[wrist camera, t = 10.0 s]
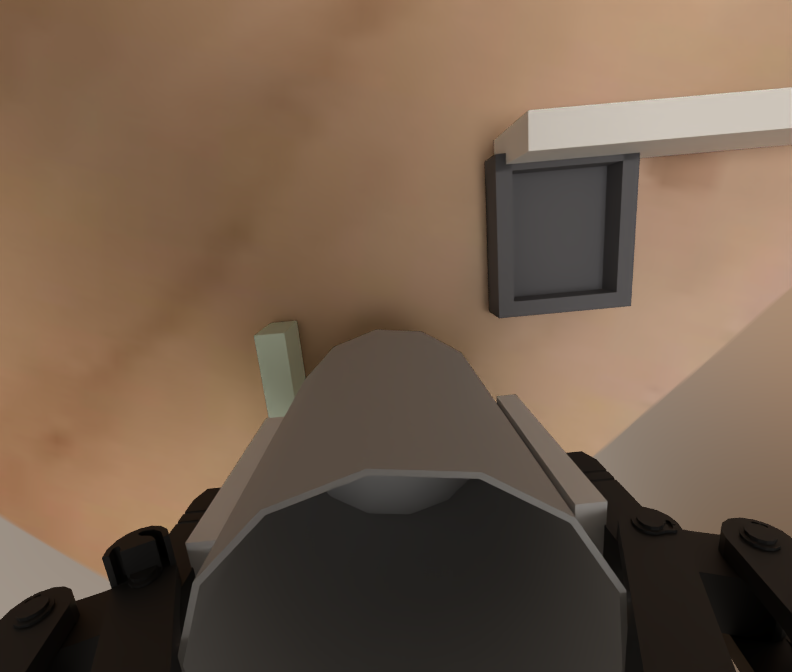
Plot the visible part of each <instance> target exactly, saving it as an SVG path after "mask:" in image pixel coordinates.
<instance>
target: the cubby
mask: <svg viewBox="0 0 792 672" xmlns="http://www.w3.org/2000/svg"><path fill="white" fill-rule="evenodd" d="M784 145H792V87H790V88H779V89H767V90H756V91H744V92H733V93H721V94H710V95H698V96H687V97H675V98H664V99H652V100H641V101H629V102H618V103H606V104H595V105H583V106H572V107H560V108H549V109H537V110H528V111H527V112H526V113H525V114H523V115H522V116H521V117H520V118H519V119H518V120H517V121H515V122H514V123H513V124H512V125H511V126H510V127H508V128H507V129H506V130H505V131H504V132H503V133H502V134H500V135H499V136H498V137H497V138H496V139H495V140H494V155H495V154H502V153H506V164H516V163H527V162H539V161H550V160H561V159H573V158H584V157H595V156H606V155H618V154H629V153H640V158H648V157H660V156H671V155H682V154H693V153H705V152H716V151H727V150H739V149H750V148H761V147H772V146H784Z"/></svg>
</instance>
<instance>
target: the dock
mask: <svg viewBox="0 0 792 672" xmlns="http://www.w3.org/2000/svg"><path fill="white" fill-rule="evenodd" d="M254 340H255V345H256V350H257V356H258V361H259V367H260V372H261V378H262V383H263V389H264V394H265V400H266V405H267V411H268V416H269V418H273V417H284V416H285V414H286V413H287V411H288V409H289V407H290V405H291V404H292V402H293V400H294V398H295V396H296V395H297V393H298V391H299V389H300V387H301V385H302V384H303V382H304V380H305V379H306V377H305V371H304V364H303V358H302V351H301V344H300V338H299V331H298V325H297V321H286V322H275V323H270V324H268V325H267V326H266V327H265V328H263V329H262V330H261V331H259V332H258V333H257V334H255V335H254Z"/></svg>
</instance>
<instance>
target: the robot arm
mask: <svg viewBox="0 0 792 672" xmlns="http://www.w3.org/2000/svg"><path fill="white" fill-rule="evenodd" d="M497 405H498V406H499V408H500V409H501V410H502V412H503V413H504V415H505V416H506V418H507V419H508V421H509V422H510V423H511V425H512V426H513V428H514V429H515V431H516V432H517V434H518V435H519V436H520V438H521V439H522V441H523V442H524V444H525V445H526V447H527V448H528V449H529V451H530V452H531V454H532V455H533V457H534V458H535V459H536V461H537V462H538V464H539V465H540V467H541V468H542V470H543V471H544V472H545V474H546V475H547V477H548V478H549V480H550V481H551V483H552V484H553V485H554V487H555V488H556V490H557V491H558V493H559V494H560V496H561V497H562V498H563V500H564V501H565V503H566V504H567V506H568V507H569V508H570V510H571V511H572V513H573V514H574V516H575V517H576V519H577V520H578V521H579V523H580V524H581V526H582V527H583V529H584V530H585V532H586V533H587V534H588V536H589V537H590V539H591V540H592V542H593V543H594V545H595V546H596V547H597V549H598V550H599V552H600V553H601V555H602V556H603V557H604V559H605V560H606V562H607V563H608V565H609V566H610V568H611V569H612V570H613V572H614V573H615V575H616V576H617V578H618V579H619V581H620V582H621V583H622V585H623V586H624V588H625V589H626V596H627V626H628V630H627V645H626V660H625V672H736V670H735V668H734V665H733V662H734V664H735V665H736V667H737V668H738V670H739V671H740V672H792V538H791V537H790V536H788V535H787V534H786V533H784V532H783V531H781V530H779V529H777V528H775V527H773V526H771V525H769V524H766V523H763V522H759V521H757V520H753V519H746V518H731V519H727V520H726V521H724V522H723V523H722V527H721V534H720V535H717V534H709V533H702V532H694V531H688V530H682V528H681V527H680V526H679V524H678V523H677V522H676V521H675V520H673V519H672V518H671V517H669V516H668V515H666V514H664V513H662V512H659V511H657V510H654V509H650V508H646V507H642V506H641V505H640V504H639V503H638V502H637V501H636V500H635V499H634V498H633V497H632V496H631V495H630V494H629V493H628V492H627V491H626V490H625V489H624V487H622V485H620V483H619V482H618V481H617V480H615V479H614V477H613V476H612V475H611V474H610V473H609V472H607V471H606V469H605V468H604V467H603V466H602V465H601V464H600V463H599V462H598V461H597V460H596V459H595V458H593V457H591V456H589V455H587V454H585V453H584V452H582V451H581V452H571V453H566V452H565V451H564V450H563V449H562V448H561V447H560V445H559V444H558V443H557V442H556V441H555V440H554V438H553V437H552V436H551V435H550V434H549V433H548V431H547V430H546V429H545V428H544V427H543V426H542V424H541V423H540V422H539V421H538V420H537V419H536V417H535V416H534V415H533V414H532V413H531V412H530V410H529V409H528V408H527V407H526V406H525V405H524V403H523V402H522V401H521V400H520V399H519V398H518V396H517V395H516V394H514V395H504V396H497ZM283 418H284V417H273V418H266V419H265V421H264V422H263V424H262V425H261V427H260V428H259V430H258V432H257V433H256V435H255V436H254V438H253V439H252V441H251V442H250V444H249V445H248V447H247V448H246V450H245V452H244V453H243V455H242V456H241V458H240V459H239V461H238V462H237V464H236V465H235V467H234V469H233V470H232V472H231V473H230V475H229V476H228V478H227V479H226V481H225V482H224V484H223V485H222V487H221V488H212V489H207V490H206V491H205V492H203V493H202V494H201V495H199V496H198V497H197V498H196V499H194V500H193V502H192V503H191V505H190V506H189V507H188V509H187V510H186V511H185V514H183V516H182V517H181V518H180V520H179V521H178V524H176V525H175V527H174V528H173V529H172V531H171V532H170V534H169V533H168V530H167V529H166V528H164V527H162V526H149V527H145V528H141V529H138V530H136V531H133V532H131V533H129V534H127V535H125V536H124V537H122V538H120V539H119V540H117V541H116V542H115V543H114V544H113V545H111V546H110V547H109V548H108V549H107V550H106V552H105V554H104V556H103V557H102V560H103V563H104V566H105V569H106V572H107V575H108V578H109V581H110V585H111V588H112V589H110V590H107V591H105V592H102V593H99V594H96V595H93V596H90V597H87V598H84V599H81V600H78V601H75V598H74V596H73V593H72V590H71V589H70V588H67V587H54V588H50V589H47V590H45V591H42V592H39V593H37V594H34V595H33V596H30V597H29V598H27V599H25V600H24V601H22V602H21V603H20V604H18V605H17V606H15V607H14V608H13V609H11V610H10V611H9V612H8V613H7V614H6V615H5V616H4V617H3V618H2V619H1V620H0V672H182V670H181V667H180V663H179V660H178V652H179V647H180V642H181V637H182V632H183V627H184V622H185V617H186V613H187V608H188V603H189V598H190V593H191V588H192V583H193V581H194V579H195V578H196V576H197V574H198V572H199V570H200V568H201V567H202V565H203V563H204V561H205V559H206V558H207V556H208V554H209V552H210V550H211V549H212V547H213V545H214V543H215V541H216V539H217V538H218V536H219V534H220V532H221V530H222V529H223V527H224V525H225V523H226V521H227V520H228V518H229V516H230V514H231V512H232V510H233V509H234V507H235V505H236V503H237V501H238V500H239V498H240V496H241V494H242V492H243V491H244V489H245V487H246V485H247V483H248V481H249V480H250V478H251V476H252V474H253V472H254V471H255V469H256V467H257V465H258V463H259V462H260V460H261V458H262V456H263V454H264V453H265V451H266V449H267V447H268V445H269V443H270V442H271V440H272V438H273V436H274V434H275V433H276V431H277V429H278V427H279V425H280V424H281V422H282V420H283ZM731 659H732V660H733V662H732V660H731Z"/></svg>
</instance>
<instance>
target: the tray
mask: <svg viewBox="0 0 792 672" xmlns="http://www.w3.org/2000/svg"><path fill="white" fill-rule="evenodd" d="M639 162H640V153H629V154H618V155H606V156H595V157H584V158H573V159H561V160H550V161H539V162H527V163H516V164H506V153H502V154H495V155H493V156H492V157H491V158H489V159H488V160H487V161H485V186H486V220H487V253H488V287H489V311H490V312H491V313H492V314H494V315H495V316H497V317H498V318H507V317H518V316H528V315H539V314H550V313H561V312H571V311H582V310H593V309H604V308H614V307H625V306H631V296H632V279H633V262H634V246H635V229H636V212H637V195H638V179H639Z"/></svg>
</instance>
